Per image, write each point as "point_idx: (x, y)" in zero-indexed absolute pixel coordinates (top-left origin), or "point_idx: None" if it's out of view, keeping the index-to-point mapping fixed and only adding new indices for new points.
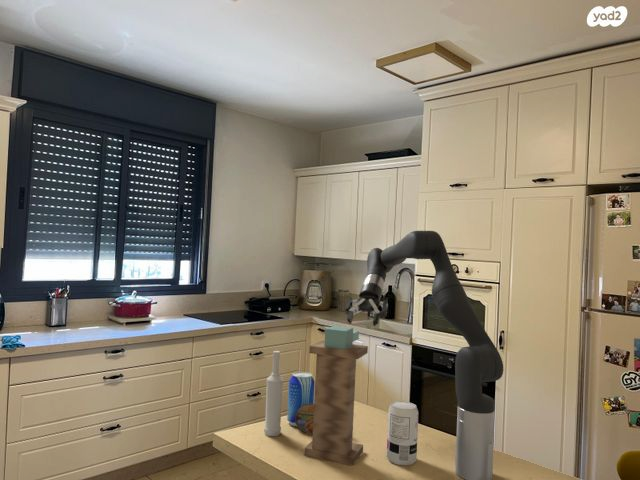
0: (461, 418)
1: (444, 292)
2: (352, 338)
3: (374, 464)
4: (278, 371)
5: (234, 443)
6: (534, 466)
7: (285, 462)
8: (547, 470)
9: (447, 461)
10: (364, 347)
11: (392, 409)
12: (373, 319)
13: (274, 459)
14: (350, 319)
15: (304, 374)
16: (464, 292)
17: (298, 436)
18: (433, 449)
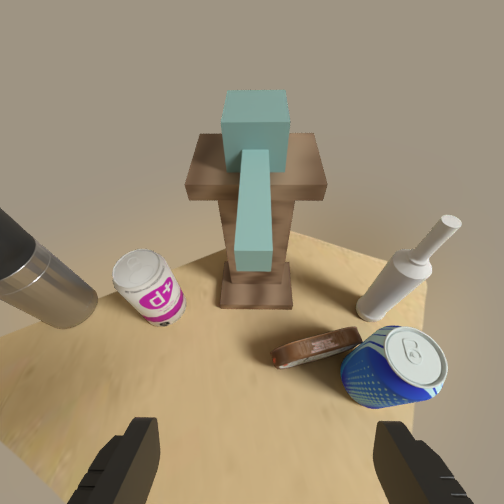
0: (46, 249)
1: None
2: (224, 152)
3: (201, 280)
4: (414, 253)
5: (380, 260)
6: None
7: (297, 244)
8: None
9: (98, 333)
10: (191, 168)
11: (159, 255)
12: (142, 437)
13: (311, 245)
14: (384, 436)
15: (417, 369)
16: None
17: (328, 318)
18: (109, 373)
